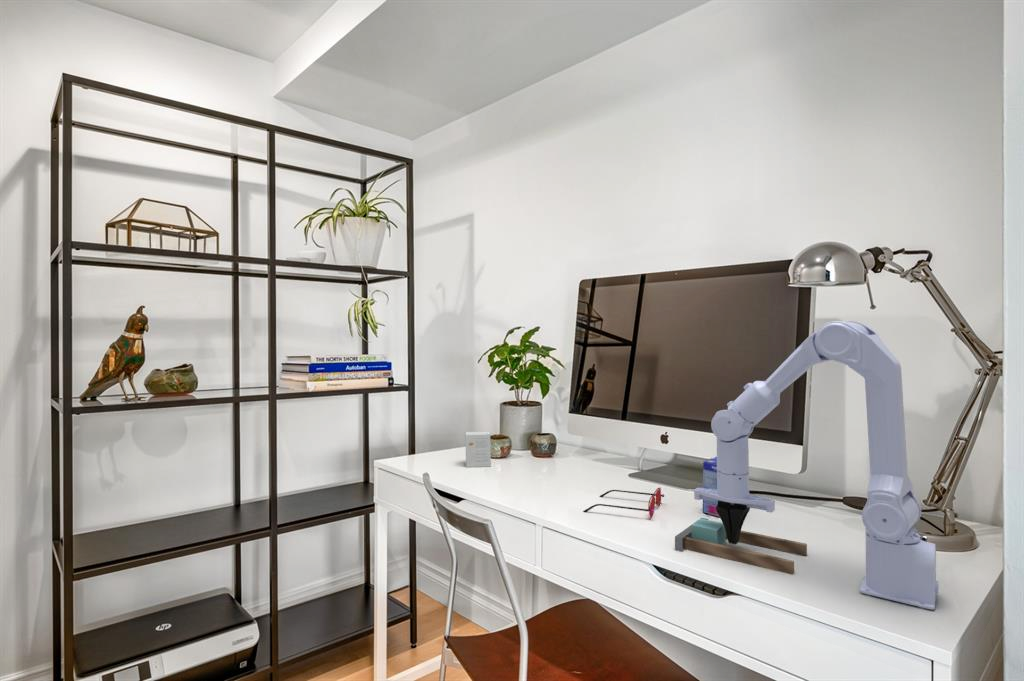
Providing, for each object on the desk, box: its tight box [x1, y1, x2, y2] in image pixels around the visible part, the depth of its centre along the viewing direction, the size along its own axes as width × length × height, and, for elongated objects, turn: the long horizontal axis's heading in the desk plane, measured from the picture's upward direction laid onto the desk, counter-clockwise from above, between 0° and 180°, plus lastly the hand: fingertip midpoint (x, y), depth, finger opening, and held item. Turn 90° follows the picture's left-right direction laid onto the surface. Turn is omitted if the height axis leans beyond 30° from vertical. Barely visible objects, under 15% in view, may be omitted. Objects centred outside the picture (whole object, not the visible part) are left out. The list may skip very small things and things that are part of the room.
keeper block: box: [690, 518, 727, 545], centre depth 111 cm, size 5×5×4 cm
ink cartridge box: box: [702, 456, 720, 518], centre depth 131 cm, size 10×6×14 cm, turn 135°
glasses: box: [582, 487, 665, 518], centre depth 135 cm, size 14×16×5 cm
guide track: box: [685, 530, 808, 575], centre depth 107 cm, size 19×11×2 cm, turn 51°
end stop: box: [674, 517, 709, 552], centre depth 113 cm, size 2×14×2 cm, turn 141°
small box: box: [464, 430, 492, 468], centre depth 181 cm, size 8×6×10 cm
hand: (733, 542), depth 108 cm, fingers closed
